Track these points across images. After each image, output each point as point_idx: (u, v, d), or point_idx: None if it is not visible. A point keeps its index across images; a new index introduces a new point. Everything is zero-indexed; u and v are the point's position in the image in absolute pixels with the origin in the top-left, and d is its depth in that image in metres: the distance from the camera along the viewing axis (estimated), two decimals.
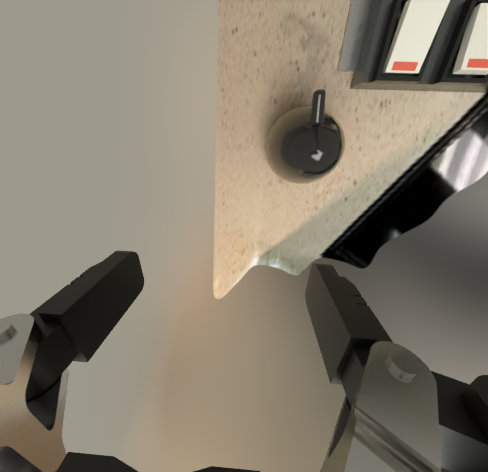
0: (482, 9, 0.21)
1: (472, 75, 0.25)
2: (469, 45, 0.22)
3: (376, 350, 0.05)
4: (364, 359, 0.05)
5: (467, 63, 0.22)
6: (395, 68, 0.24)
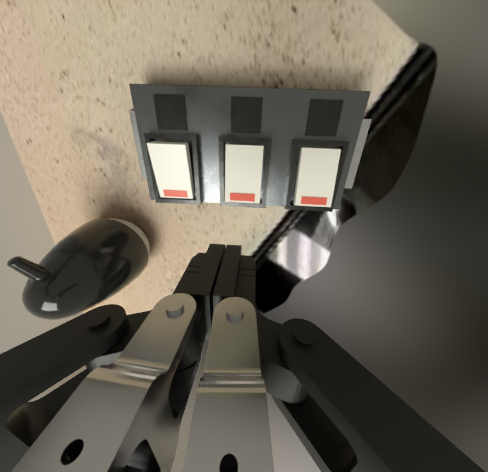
0: (228, 150, 0.20)
1: None
2: (226, 180, 0.21)
3: (217, 311, 0.05)
4: None
5: (229, 196, 0.22)
6: (167, 194, 0.23)
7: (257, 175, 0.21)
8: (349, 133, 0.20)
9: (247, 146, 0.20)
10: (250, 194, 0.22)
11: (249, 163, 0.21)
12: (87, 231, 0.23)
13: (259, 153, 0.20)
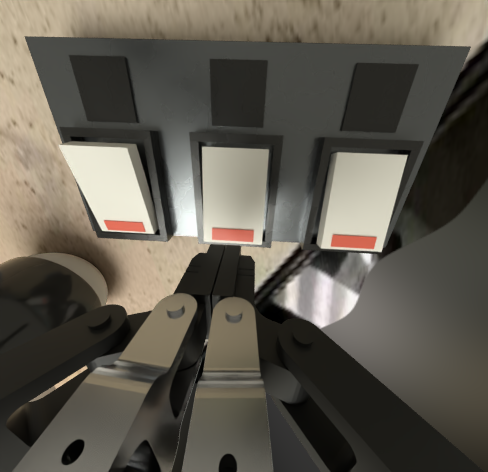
0: (207, 156, 0.12)
1: None
2: (205, 208, 0.13)
3: (216, 311, 0.05)
4: None
5: (211, 234, 0.13)
6: (113, 226, 0.14)
7: (258, 199, 0.12)
8: (419, 127, 0.12)
9: (240, 150, 0.11)
10: (245, 230, 0.13)
11: (243, 179, 0.12)
12: None
13: (261, 162, 0.12)
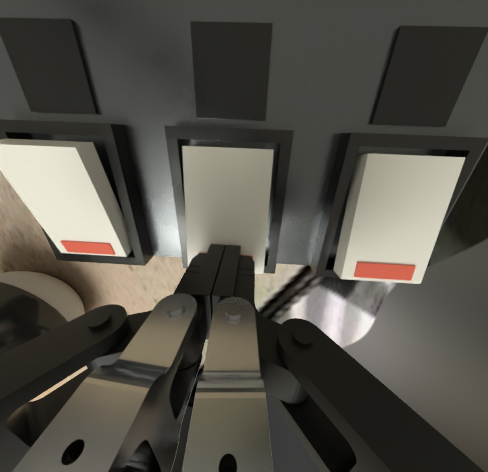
0: (189, 159, 0.09)
1: None
2: (189, 227, 0.10)
3: (216, 311, 0.05)
4: None
5: None
6: (74, 248, 0.11)
7: (258, 216, 0.09)
8: (478, 119, 0.09)
9: (234, 150, 0.08)
10: None
11: (239, 189, 0.09)
12: None
13: (263, 167, 0.09)
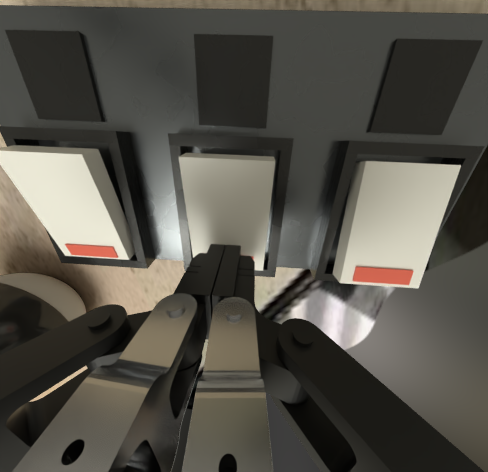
0: (188, 171, 0.08)
1: None
2: (192, 232, 0.10)
3: (216, 311, 0.05)
4: None
5: None
6: (78, 251, 0.11)
7: (259, 224, 0.09)
8: (473, 127, 0.09)
9: (234, 162, 0.08)
10: None
11: (239, 199, 0.09)
12: None
13: (264, 179, 0.08)
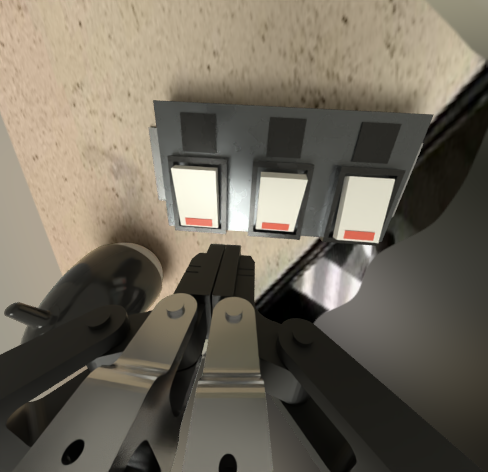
0: (263, 183, 0.17)
1: None
2: (259, 211, 0.19)
3: (216, 311, 0.05)
4: None
5: (261, 225, 0.20)
6: (189, 222, 0.20)
7: (295, 208, 0.18)
8: (403, 160, 0.18)
9: (287, 179, 0.16)
10: (284, 224, 0.20)
11: (287, 196, 0.18)
12: (97, 262, 0.21)
13: (301, 187, 0.17)
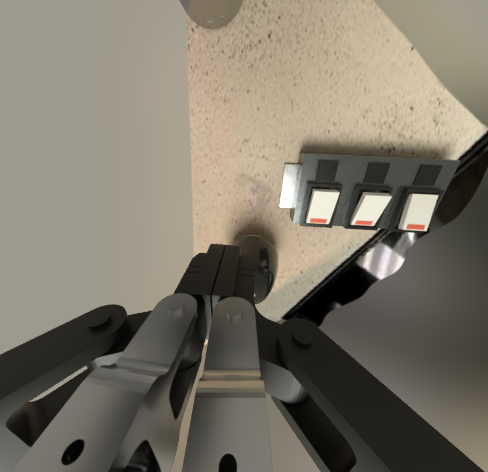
0: (366, 198, 0.31)
1: None
2: (357, 214, 0.33)
3: (216, 311, 0.05)
4: None
5: (355, 222, 0.34)
6: (312, 221, 0.34)
7: (379, 211, 0.32)
8: (442, 184, 0.31)
9: (380, 196, 0.30)
10: (369, 221, 0.34)
11: (377, 205, 0.31)
12: (256, 246, 0.34)
13: (387, 200, 0.31)
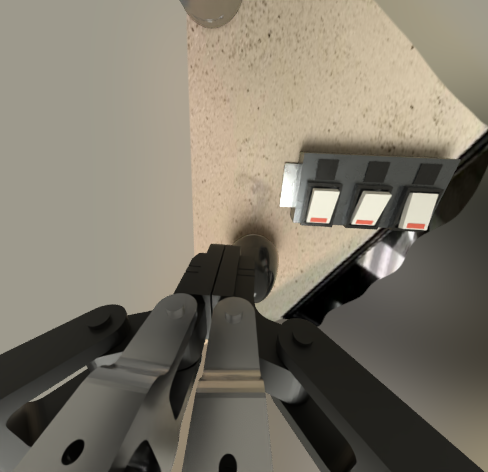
0: (366, 197, 0.31)
1: None
2: (357, 213, 0.33)
3: (216, 311, 0.05)
4: None
5: (355, 221, 0.34)
6: (312, 220, 0.34)
7: (379, 210, 0.32)
8: (442, 183, 0.31)
9: (380, 195, 0.30)
10: (370, 220, 0.34)
11: (377, 204, 0.31)
12: (256, 245, 0.34)
13: (386, 199, 0.31)
